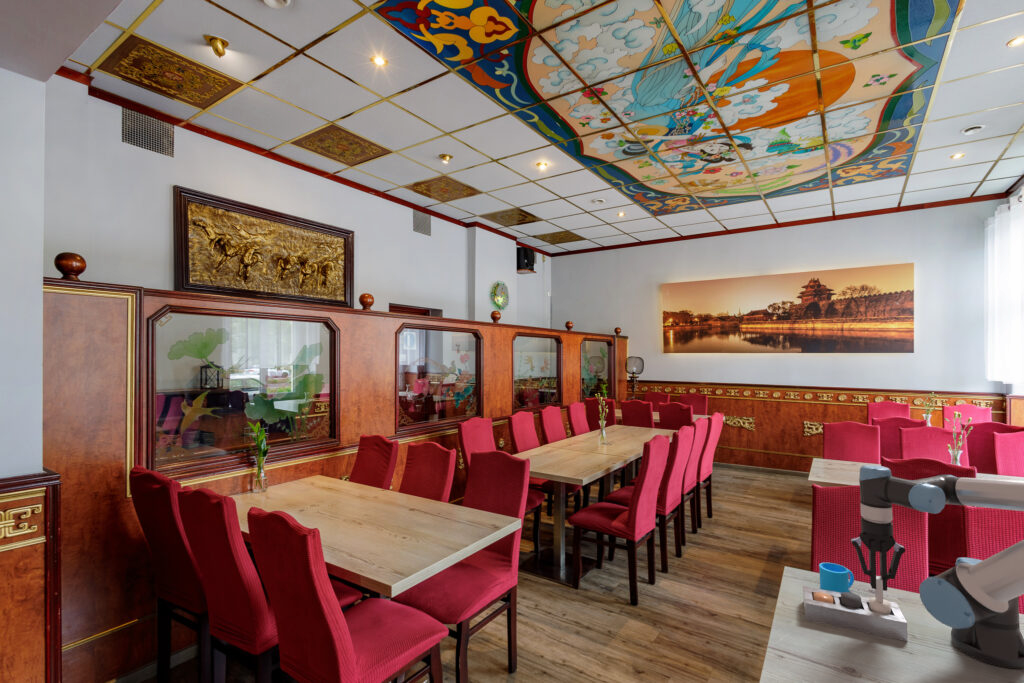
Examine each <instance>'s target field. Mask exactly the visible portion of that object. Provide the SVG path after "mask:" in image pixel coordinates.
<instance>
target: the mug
mask: <svg viewBox="0 0 1024 683" xmlns="http://www.w3.org/2000/svg"><path fill="white" fill-rule="evenodd" d="M818 567H819V589H822V590H828V591H833V592H839V593H842V592H849V593H850V588H851V587H852V586H853V585H854V583H855V575H854V574H853V572H852V571H851V570H850V569H848V568H847V567H845V566H844V565H842V564H838V563H835V562H834V563H833V562H821V563H819V565H818Z"/></svg>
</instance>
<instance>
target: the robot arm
mask: <svg viewBox="0 0 1024 683" xmlns="http://www.w3.org/2000/svg"><path fill="white" fill-rule="evenodd" d="M858 481H859V494H860V502H859V503H860V516H861V518H860V533H859V536H858V537H855V538H853V537H852V538H850V542H851V544H852V545H853V547H854V548H855V550H856V554H857V558H858V560H859V563H860V566H861V570H862V572H863V575H865V576H869V580H870V581H869V582H870V583H869V584H870V586H871V589H873V590H874V597H875V598H876V601H877V602H881V603H883V599H884V592H887V591H888V580H895V579H896V576H897V572H898V569H899V565H900V562H901V557H902V555H903V554H904V553H905V552H906V549H905V547H904V545H903V544H900V543H897V541H896V539H895V538H894V526H893V525H894V524H893V522H892V521H893V519H894V517H893V505H896V506H900V507H904V508H908V509H912V510H916V511H919V512H921V513H929V514H933V515H934V514H935V515H936V514H939V513H941V512H942V511H943V510H944V509H945V506H946V505H956V506H967V507H977V508H988V509H989V508H990V509H998V510H1007V511H1018V512H1024V480H1019V479H1018V480H1017V479H1015V480H1014V479H999V478H998V479H995V478H982V477H981V478H978V477H963V476H962V477H957V476H955V475H952V474H938V475H936V476H931V477H926V478H925V477H924V478H919V479H913V480H912V479H905V478H900V477H897V476H892V470H891V469H890V468H889V467H886V466H882V465H878V464H877V465H876V464H875V465H874V464H865V465H861V466H860V468H859V477H858ZM862 543H863V544H864V546H865V547H866V548H867V550H868V561H869V562H868V564H869V568H868V566H867V564H866V560H865V556H864V553H863V551H862V548H861V546H862ZM892 548H893V554H892V557H891V561H890V563H889V564H890V565H889V568H888V564H887V562H888V559H887V557H888V554H887V553H888V552H889V551H890V550H891V549H892ZM877 552H879V567H880V568H879V570H880V571H879V573H880V575H877V560H876V559H877V558H876V557H877ZM918 592H919V599H920V600H921V603H922V605H923V607H924V608H925V609H926V611H927V612H928V613H929V614H930V616H932V617H933V618H934V619H935V620H937V621H938V622H940V623H941V624H943V625H945V626H948V627H949V628H951V631H950V640H951V643H952V644H953V646H955V647H956V649H958V650H959V651H961V652H962V653H964V654H966V655H967V656H970V657H972V658H973V659H976V660H979V661H981V662H983V663H986V664H991V665H992V666H993V665H994V666H997V667H1001V668H1007V669H1014V670H1022V669H1024V636H1023V633H1022V631H1021V629H1020V628H1021V626H1020V625H1021V624H1020V604H1019V597H1021V596H1023V595H1024V539H1022V540H1020V541H1018V542H1016V543H1014V544H1013V545H1011V546H1009V547H1007V548H1005V549H1003V550H1001V551H999V552H997V553H994V554H993V555H991V556H989V557H987V558H985V559H977V558H972V557H962V556H961V557H957V558H956V561H955V566H953V567H951V568H949V569H947V570H946V571H943V572H941V573H940V574H938V575H934V576H928V577H926V578H925V579H924V580H922V582H921V583H920V585H919V589H918Z"/></svg>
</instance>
